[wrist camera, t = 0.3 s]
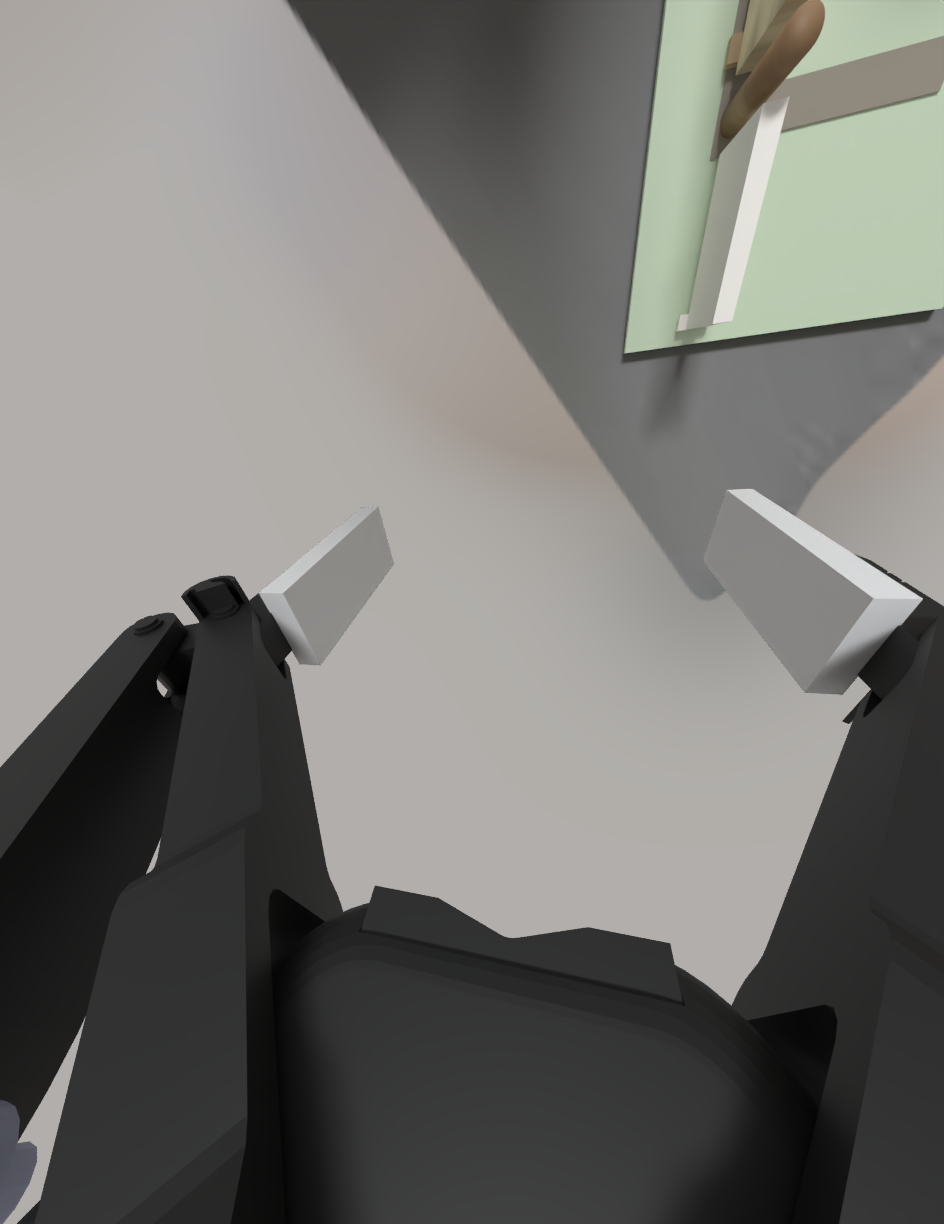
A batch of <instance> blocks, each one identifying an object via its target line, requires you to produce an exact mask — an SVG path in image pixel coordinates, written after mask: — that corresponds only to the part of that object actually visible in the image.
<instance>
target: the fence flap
mask: <svg viewBox="0 0 944 1224" xmlns="http://www.w3.org/2000/svg"><path fill="white" fill-rule="evenodd" d="M789 97H790V96H789ZM789 97H785V98H782V99H778V100H774V101H770V102H767V103H763V104H762V105H761V107H760V108H759V109H758V110H757V111H756V113H755V114H754V115H753V116H752V117H751V118H750V120H749V121H748V122H747V123H746V124H745V125H744V127H743V128H742V129H741V130H740V131H739V132H738V134H737V135H736V136H735V137H734V138H733V139H732V141H731V142H730V143H729V144H728V145H727V147H726V148H725V149H724V150H723V151H722V152H721V154H720V156H719V161H718V166H717V172H716V177H715V182H714V187H713V192H712V197H711V202H710V207H709V212H708V217H707V223H706V228H705V233H704V238H703V243H702V248H701V253H700V258H699V263H698V269H697V274H696V279H695V284H694V289H693V294H692V299H691V304H690V309H689V314H684V315H679V317H678V323H677V328H676V331H682V330H689V329H695V328H702V327H708V326H711V325H716V324H721V323H726V322H730V321H732V320H733V316H734V312H735V308H736V305H737V301H738V297H739V293H740V289H741V285H742V281H743V277H744V273H745V269H746V265H747V262H748V258H749V254H750V250H751V246H752V242H753V238H754V234H755V230H756V226H757V222H758V219H759V215H760V211H761V207H762V203H763V199H764V195H765V191H766V187H767V183H768V179H769V176H770V172H771V168H772V164H773V160H774V156H775V152H776V148H777V144H778V140H779V136H780V133H781V129H782V125H783V121H784V117H785V113H786V109H787V105H788V101H789Z"/></svg>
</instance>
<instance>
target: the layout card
mask: <svg viewBox="0 0 944 1224" xmlns="http://www.w3.org/2000/svg"><path fill="white" fill-rule="evenodd" d="M821 1H822V3H823V5H824V8H825V20H824V24H823V28H822V31H821V33H820V35H819V37H818V39H817V41H816V43H815V44H814V46H813V47H812V48H811V50H810V51H809V52H808V53H807V54H806V55H805V57H804V58H803V59H802V60H801V61H800V62H799V64H798V65H797V66H796V67H795V68H794V69H793V71H792V72H791V73H790V74H789V75H788V76H787V78H786V79H785V80H784V81H783V82H782V83H781V85H780V86H779V87H778V88H777V89H776V90H775V92H774V93H773V94H772V95H771V96H770V97H769V99H768V100H767V101H766V102H765V103H767V102H770V101H774V100H778V99H782V98H785V97H789V96H790V97H789V101H788V105H787V109H786V113H785V117H784V121H783V125H782V129H781V133H780V136H779V140H778V144H777V148H776V152H775V156H774V160H773V164H772V168H771V172H770V176H769V179H768V183H767V187H766V191H765V195H764V199H763V203H762V207H761V211H760V215H759V219H758V222H757V226H756V230H755V234H754V238H753V242H752V246H751V250H750V254H749V258H748V262H747V265H746V269H745V273H744V277H743V281H742V285H741V289H740V293H739V297H738V301H737V305H736V308H735V312H734V316H733V320H732V321H730V322H726V323H721V324H716V325H711V326H708V327H702V328H695V329H689V330H682V331H676V328H677V323H678V317H679V315H684V314H689V309H690V304H691V299H692V294H693V289H694V284H695V279H696V274H697V269H698V263H699V258H700V253H701V248H702V243H703V238H704V233H705V228H706V223H707V217H708V212H709V207H710V202H711V197H712V192H713V187H714V182H715V177H716V172H717V166H718V161H719V156H720V154H721V152H722V151H723V150H724V149H725V148H726V147H727V145H728V144H729V143H730V142H731V141H732V139H733V138H734V137H733V138H730V139H726V138H724V137H723V136H722V135H721V132H720V122H721V118H722V115H723V113H724V111H725V109H726V108H727V106H728V105H729V103H730V102H731V101H732V99H733V98H734V96H735V95H736V94H737V92H738V91H739V89H740V88H741V87H742V85H743V84H744V83H745V81H746V80H747V78H748V77H749V76H750V74H751V73H752V71H750V72H747V73H743V74H740V75H736V70H737V67H733V68H730V69H726V70H723V69H724V64H725V58H726V53H727V48H728V42H729V40H730V38H731V36H732V35H734V34H737V33H740V32H743V31H744V29H745V24H746V19H747V13H748V8H749V3H750V0H665V2H664V10H663V19H662V27H661V36H660V45H659V53H658V62H657V70H656V79H655V87H654V96H653V105H652V113H651V122H650V130H649V139H648V148H647V156H646V165H645V173H644V182H643V190H642V199H641V208H640V216H639V225H638V233H637V242H636V250H635V259H634V268H633V276H632V285H631V293H630V302H629V311H628V319H627V328H626V336H625V345H624V353H632V352H639V351H646V350H653V349H660V348H667V347H674V346H681V345H688V344H695V343H702V342H709V341H716V340H723V339H730V338H737V337H744V336H751V335H758V334H765V333H772V332H779V331H786V330H793V329H800V328H807V327H814V326H821V325H828V324H835V323H842V322H849V321H856V320H863V319H870V318H877V317H884V316H891V315H898V314H905V313H912V312H919V311H926V310H933V309H941V308H943V306H944V0H821ZM735 75H736V76H735ZM624 353H623V354H624Z"/></svg>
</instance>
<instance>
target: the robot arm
mask: <svg viewBox="0 0 944 1224" xmlns="http://www.w3.org/2000/svg"><path fill="white" fill-rule="evenodd" d="M703 561H704V563H705V564H706V565H707V567H708V568H709V569H710V571H711V572H712V573H713V574H714V576H715V577H716V578H717V580H718V581H719V582H720V584H721V585H722V586H723V587H724V589H725V590H726V591H727V593H728V594H729V595H730V596H731V598H732V599H733V600H734V602H735V603H736V604H737V606H738V607H739V608H740V609H741V611H742V612H743V613H744V615H745V616H746V617H747V619H748V620H749V621H750V622H751V624H752V625H753V626H754V628H755V629H756V630H757V631H758V633H759V634H760V635H761V637H762V638H763V639H764V641H765V642H766V643H767V644H768V646H769V647H770V648H771V650H772V651H773V652H774V654H775V655H776V656H777V657H778V659H779V660H780V661H781V663H782V664H783V665H784V666H785V668H786V669H787V670H788V672H789V673H790V674H791V676H792V677H793V678H794V679H795V681H796V682H797V683H798V685H799V686H800V687H801V689H802V690H803V691H804V692H805V693H823V694H840V695H843V694H844V692H845V691H846V690H847V689H848V688H849V686H850V685H851V684H852V683H853V682H854V681H855V679H856V678H857V677H858V676H859V677H860V678H861V679H862V680H863V681H864V682H865V683H866V684H867V685H868V686H869V687H870V688H871V690H870V691H869V692H868V693H867V694H866V695H865V697H864V698H863V699H862V700H861V701H860V702H859V703H858V704H857V705H856V706H855V708H854V709H853V710H852V711H851V712H850V713H849V714H848V715H847V716H846V718H845V719H844V720H843V722H845V723H848V724H849V723H850V722H852V721H853V722H852V725H851V728H850V730H849V733H848V735H847V738H846V741H845V743H844V746H843V749H842V751H841V754H840V756H839V759H838V762H837V764H836V767H835V769H834V772H833V775H832V777H831V780H830V783H829V785H828V788H827V791H826V793H825V795H824V798H823V801H822V803H821V806H820V808H819V811H818V814H817V816H816V819H815V821H814V824H813V827H812V830H811V832H810V835H809V837H808V840H807V843H806V845H805V848H804V850H803V853H802V856H801V858H800V861H799V863H798V866H797V869H796V871H795V874H794V876H793V879H792V882H791V884H790V887H789V889H788V892H787V895H786V897H785V900H784V903H783V905H782V908H781V910H780V913H779V916H778V918H777V921H776V924H775V926H774V929H773V931H772V934H771V936H770V939H769V942H768V944H767V947H766V949H765V951H764V954H763V956H762V957H761V959H760V961H759V963H758V964H757V965H756V967H755V968H754V969H753V970H752V972H751V973H750V974H749V975H748V977H747V978H746V979H745V981H744V983H743V984H742V986H741V988H740V989H739V991H738V993H737V995H736V997H735V999H734V1002H733V1004H732V1006H731V1005H730V1004H729V1003H727V1002H726V1001H725V1000H724V999H723V998H722V997H720V996H719V995H718V994H717V993H715V992H714V991H713V990H712V989H711V988H709V987H708V986H707V985H705V984H704V983H703V982H701V981H700V980H698V979H697V978H695V977H694V976H692V975H691V974H689V973H688V972H686V971H685V970H683V969H681V968H679V967H678V966H676V965H674V959H673V955H672V950H671V945H670V943H665V942H660V941H655V940H650V939H645V938H639V937H635V936H630V935H625V934H619V933H614V932H609V931H604V930H599V929H594V928H589V927H588V928H581V929H574V930H567V931H560V932H553V933H547V934H540V935H533V936H527V937H520V938H507V937H504V936H502V935H500V934H498V933H497V932H495V931H493V930H492V929H490V928H488V927H486V926H485V925H483V924H481V923H480V922H478V921H476V920H475V919H473V918H471V917H469V916H468V915H466V914H464V913H462V912H461V911H459V910H457V909H456V908H454V907H453V906H451V905H449V904H448V903H446V902H444V901H442V900H441V899H439V898H435V897H430V896H425V895H420V894H415V893H410V892H404V891H400V890H395V889H389V888H384V887H379V886H375V887H374V890H373V893H372V897H371V900H370V903H367V904H363V905H361V906H357V907H354V908H351V909H349V910H347V911H345V912H343V910H342V906H341V903H340V901H339V897H338V895H337V892H336V891H335V888H334V886H333V884H332V882H331V880H330V877H329V874H328V871H327V867H326V862H325V857H324V851H323V846H322V840H321V835H320V829H319V824H318V818H317V814H316V809H315V802H314V797H313V792H312V786H311V781H310V775H309V770H308V764H307V759H306V754H305V748H304V743H303V737H302V732H301V727H300V721H299V716H298V710H297V705H296V700H295V694H294V689H293V684H292V678H291V672H290V667H289V666H288V664H287V662H286V661H285V658H286V656H287V655H288V654H289V653H290V652H291V651H293V653H294V655H295V657H296V658H297V660H298V662H299V663H300V664H309V665H321V664H322V663H323V661H324V660H325V659H326V657H327V656H328V654H329V653H330V652H331V650H332V649H333V647H334V646H335V645H336V643H337V642H338V641H339V639H340V638H341V636H342V635H343V634H344V632H345V631H346V630H347V628H348V627H349V625H350V624H351V622H352V621H353V620H354V618H355V617H356V615H357V614H358V613H359V611H360V610H361V609H362V607H363V606H364V605H365V603H366V602H367V600H368V599H369V598H370V596H371V595H372V593H373V592H374V591H375V589H376V588H377V587H378V585H379V584H380V582H381V581H382V580H383V578H384V576H385V575H386V574H387V573H388V571H389V570H390V569H391V567H392V566H393V564H394V563H393V559H392V555H391V552H390V548H389V545H388V541H387V538H386V534H385V530H384V527H383V522H382V519H381V516H380V512H379V508H378V507H362V508H360V509H359V510H358V511H357V512H356V513H354V514H353V515H352V516H351V517H350V518H348V519H347V520H346V521H345V522H344V523H342V524H341V525H340V526H339V527H338V528H336V529H335V530H334V531H333V532H332V533H330V534H329V535H328V536H327V537H326V538H324V539H323V540H322V541H321V542H319V543H318V544H317V545H316V546H315V547H314V548H312V549H311V550H310V551H309V552H308V553H306V554H305V555H304V556H303V557H301V558H300V559H299V560H298V561H297V562H296V563H294V564H293V565H292V566H291V567H289V568H288V569H287V570H286V571H284V572H283V573H282V574H281V575H280V576H278V577H277V578H276V579H275V580H274V581H273V582H272V583H270V584H269V585H268V586H266V587H265V588H264V589H263V590H262V591H260V592H259V593H258V594H257V595H256V596H254V597H253V598H252V599H251V600H250V601H249V600H248V598H247V596H246V595H245V593H244V591H243V590H242V588H241V587H240V585H239V583H238V582H237V581H236V579H235V577H233V576H219V577H215V578H211V579H208V580H205V581H202V582H200V583H198V584H196V585H194V586H192V587H191V588H189V589H188V590H186V591H185V592H184V593H183V595H182V596H181V597H182V599H183V600H184V601H185V603H186V604H187V605H188V606H189V608H190V609H191V611H192V612H193V613H194V615H195V616H196V617H197V619H198V620H199V623H197V624H191V625H186V626H184V625H183V624H182V623H181V622H180V620H179V619H178V618H177V617H176V615H175V614H174V613H162V614H158V615H154V616H148V617H145V618H144V619H141V620H139V621H137V622H136V623H135V624H134V625H132V626H130V627H129V628H127V629H126V630H125V631H124V632H123V633H122V634H121V635H120V636H119V637H118V638H117V639H116V640H115V641H114V643H113V644H112V645H111V646H110V647H109V648H108V649H107V650H106V651H105V653H104V654H103V655H102V656H101V657H100V658H99V659H98V660H97V661H96V662H95V663H94V665H93V666H92V667H91V668H90V669H89V670H88V671H87V672H86V673H85V674H84V676H83V677H82V678H81V679H80V680H79V681H78V682H77V683H76V684H75V686H74V687H73V688H72V689H71V690H70V691H69V692H68V693H67V694H66V695H65V697H64V698H63V699H62V700H61V701H60V702H59V703H58V704H57V706H55V708H54V709H53V710H52V711H51V712H50V713H49V714H48V715H47V716H46V718H45V719H44V720H43V721H42V722H41V723H40V724H39V725H38V726H37V728H36V729H35V730H34V731H33V732H32V733H31V734H30V735H29V736H28V737H27V739H26V740H25V741H24V742H23V743H22V744H21V745H20V746H19V747H18V748H17V750H16V751H15V752H14V753H13V754H12V755H11V756H10V758H9V759H7V761H6V762H5V763H4V764H3V765H2V766H1V767H0V1224H3V1223H4V1222H5V1220H6V1219H7V1218H8V1217H9V1215H10V1214H11V1213H12V1211H13V1210H14V1209H15V1208H16V1206H17V1204H18V1202H19V1201H20V1199H21V1197H22V1196H23V1194H24V1192H25V1190H26V1188H27V1187H28V1185H29V1183H30V1180H31V1177H32V1174H33V1172H34V1168H35V1166H36V1163H37V1147H36V1146H35V1145H33V1144H32V1143H31V1142H23V1143H17V1142H18V1140H19V1139H20V1137H21V1135H22V1134H23V1132H24V1130H25V1128H26V1127H27V1125H28V1123H29V1122H30V1120H31V1118H32V1117H33V1115H34V1113H35V1111H36V1110H37V1108H38V1106H39V1104H40V1103H41V1101H42V1099H43V1098H44V1096H45V1094H46V1092H47V1091H48V1089H49V1087H50V1085H51V1083H52V1081H53V1079H54V1077H55V1076H56V1074H57V1072H58V1070H59V1068H60V1066H61V1064H62V1062H63V1060H64V1058H65V1057H66V1055H67V1053H68V1050H69V1049H70V1047H71V1045H72V1043H73V1041H74V1039H75V1037H76V1035H77V1034H78V1031H79V1029H80V1027H81V1025H82V1023H83V1021H84V1018H85V1016H86V1018H85V1022H84V1026H83V1030H82V1034H81V1038H80V1042H79V1046H78V1050H77V1054H76V1058H75V1062H74V1066H73V1070H72V1074H71V1078H70V1082H69V1086H68V1091H67V1095H66V1099H65V1103H64V1107H63V1111H62V1115H61V1119H60V1123H59V1127H58V1131H57V1135H56V1139H55V1143H54V1147H53V1152H52V1155H51V1159H50V1164H49V1167H48V1172H47V1176H46V1180H45V1184H44V1188H43V1192H42V1196H41V1200H40V1201H39V1202H38V1203H37V1204H36V1205H35V1206H34V1207H33V1208H32V1209H31V1210H30V1211H29V1212H28V1213H27V1214H26V1215H25V1216H24V1217H23V1218H22V1219H21V1220H20V1221H19V1222H18V1223H17V1224H944V606H942V605H940V604H939V603H938V602H936V601H934V600H933V599H931V598H930V597H928V596H926V595H925V594H923V593H922V592H920V591H918V590H917V589H915V588H914V587H912V586H910V585H909V584H907V583H905V582H901V581H902V580H901V579H899V578H898V577H896V576H894V575H893V574H891V573H887V570H885V569H883V568H882V567H880V566H879V565H877V564H876V563H874V562H872V561H871V560H868V559H866V558H863V557H860V556H858V555H855V554H852V553H851V552H850V551H848V550H846V549H845V548H843V547H842V546H840V545H839V544H837V543H836V542H834V541H832V540H831V539H829V538H827V537H826V536H825V535H823V534H822V533H820V532H818V531H817V530H815V529H814V528H812V527H810V526H809V525H808V524H806V523H804V522H803V521H801V520H800V519H798V518H797V517H795V516H794V515H792V514H790V513H789V512H787V511H786V510H784V509H783V508H781V507H780V506H778V505H776V504H775V503H773V502H772V501H770V500H769V499H767V498H766V497H764V496H762V495H761V494H759V493H758V492H756V491H755V490H753V489H739V490H727V491H726V494H725V497H724V500H723V503H722V506H721V509H720V512H719V515H718V518H717V521H716V523H715V526H714V529H713V532H712V535H711V538H710V541H709V544H708V547H707V550H706V553H705V556H704V559H703ZM157 679H158V680H159V681H160V682H161V683H162V685H163V686H164V687H165V688H166V689H167V690H168V691H167V693H166V695H165V696H164V697H163V696H162V695H161V693H160V692H159V690H158V689H157V682H156V681H157ZM160 838H161V841H160ZM159 841H160V848H159V853H158V858H157V861H156V864H155V867H154V869H153V870H152V871H151V872H149V873H147V874H146V872H147V870H148V867H149V865H150V863H151V860H152V858H153V855H154V853H155V851H156V848H157V846H158V843H159Z"/></svg>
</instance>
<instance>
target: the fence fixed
mask: <svg viewBox="0 0 944 1224" xmlns="http://www.w3.org/2000/svg"><path fill="white" fill-rule="evenodd" d="M824 20H825V8H824V5H823V3H822V1H821V0H750V3H749V8H748V13H747V19H746V24H745V29H744V31H743V32H740V33H737V34H734V35H732V36H731V38H730V40H729V42H728V48H727V53H726V58H725V64H724V69H723V70H726V69H730V68H733V67H737V70H736V75H740V74H743V73H747V72H750V71H752V73H751V74H750V76H749V77H748V78H747V80H746V81H745V83H744V84H743V85H742V87H741V88H740V89H739V91H738V92H737V94H736V95H735V96H734V98H733V99H732V101H731V102H730V103H729V105H728V106H727V108H726V109H725V111H724V113H723V115H722V118H721V122H720V132H721V135H722V136H723V137H724V138H726V139H730V138H733V137H735V136H736V135H737V134H738V132H739V131H740V130H741V129H742V128H743V127H744V125H745V124H746V123H747V122H748V121H749V120H750V118H751V117H752V116H753V115H754V114H755V113H756V111H757V110H758V109H759V108H760V107H761V105H762V104H763V103H765V102H766V101H767V100H768V99H769V97H770V96H771V95H772V94H773V93H774V92H775V90H776V89H777V88H778V87H779V86H780V85H781V83H782V82H783V81H784V80H785V79H786V78H787V76H788V75H789V74H790V73H791V72H792V71H793V69H794V68H795V67H796V66H797V65H798V64H799V62H800V61H801V60H802V59H803V58H804V57H805V55H806V54H807V53H808V52H809V51H810V50H811V48H812V47H813V46H814V44H815V43H816V41H817V39H818V37H819V35H820V33H821V31H822V28H823V24H824ZM736 75H735V76H736Z"/></svg>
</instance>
